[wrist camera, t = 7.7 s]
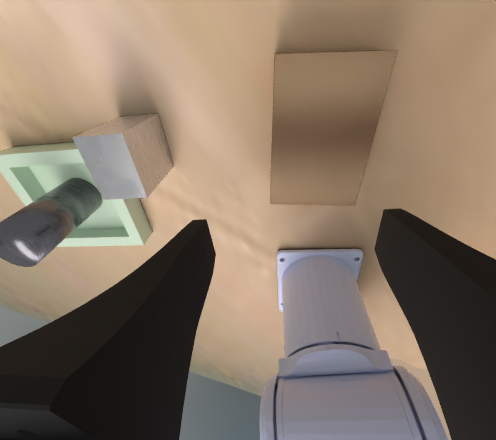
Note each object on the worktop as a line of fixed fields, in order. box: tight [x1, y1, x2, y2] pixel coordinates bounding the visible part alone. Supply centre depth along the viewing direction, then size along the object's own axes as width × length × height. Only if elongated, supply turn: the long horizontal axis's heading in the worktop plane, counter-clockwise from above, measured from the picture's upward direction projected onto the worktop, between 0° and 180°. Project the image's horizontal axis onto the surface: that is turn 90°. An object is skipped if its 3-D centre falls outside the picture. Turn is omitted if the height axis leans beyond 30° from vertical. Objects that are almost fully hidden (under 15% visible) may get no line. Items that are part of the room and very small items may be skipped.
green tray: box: [0, 142, 153, 247], centre depth 21 cm, size 9×9×2 cm
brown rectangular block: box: [270, 50, 397, 205], centre depth 16 cm, size 9×6×3 cm, turn 2°
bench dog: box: [72, 113, 173, 200], centre depth 16 cm, size 4×3×5 cm
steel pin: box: [0, 178, 102, 267], centre depth 18 cm, size 3×3×7 cm
